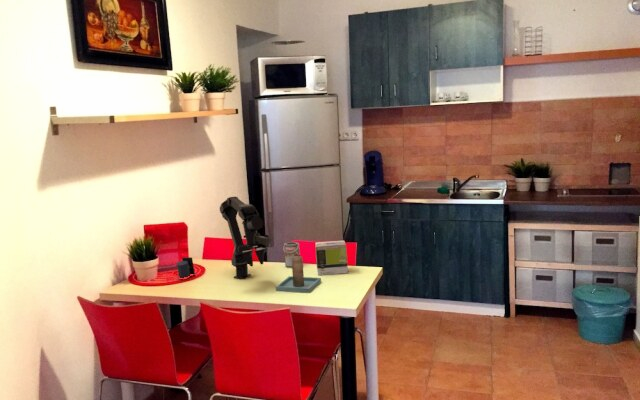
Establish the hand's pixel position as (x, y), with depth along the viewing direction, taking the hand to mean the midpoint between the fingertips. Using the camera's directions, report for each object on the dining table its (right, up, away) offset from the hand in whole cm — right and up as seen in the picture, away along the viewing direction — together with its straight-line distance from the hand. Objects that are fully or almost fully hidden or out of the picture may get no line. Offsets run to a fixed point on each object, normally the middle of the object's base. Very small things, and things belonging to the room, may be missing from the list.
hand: (257, 265), depth 254 cm
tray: (+19, -9, -2) cm, 22 cm away
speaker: (-38, -9, +22) cm, 45 cm away
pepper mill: (+19, -9, -2) cm, 21 cm away
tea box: (+35, -6, +19) cm, 40 cm away
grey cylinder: (+15, -5, +33) cm, 37 cm away
